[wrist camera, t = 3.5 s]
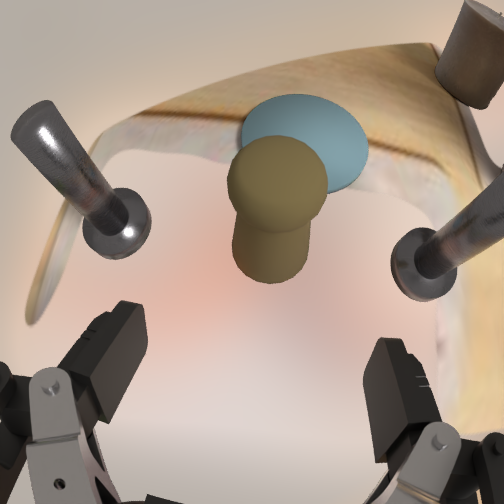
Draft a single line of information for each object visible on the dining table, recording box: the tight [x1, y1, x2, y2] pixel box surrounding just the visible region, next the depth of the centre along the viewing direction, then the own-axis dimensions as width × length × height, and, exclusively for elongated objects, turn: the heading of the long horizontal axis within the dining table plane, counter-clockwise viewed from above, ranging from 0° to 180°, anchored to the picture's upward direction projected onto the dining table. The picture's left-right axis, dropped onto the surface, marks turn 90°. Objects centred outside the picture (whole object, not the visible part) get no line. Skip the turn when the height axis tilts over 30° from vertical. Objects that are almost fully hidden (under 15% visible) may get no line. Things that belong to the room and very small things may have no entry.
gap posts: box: [11, 100, 504, 302], centre depth 18 cm, size 32×6×14 cm, turn 82°
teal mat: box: [241, 94, 368, 194], centre depth 28 cm, size 12×12×1 cm
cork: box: [227, 135, 328, 284], centre depth 20 cm, size 6×6×11 cm
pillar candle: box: [435, 0, 504, 110], centre depth 26 cm, size 10×10×15 cm
